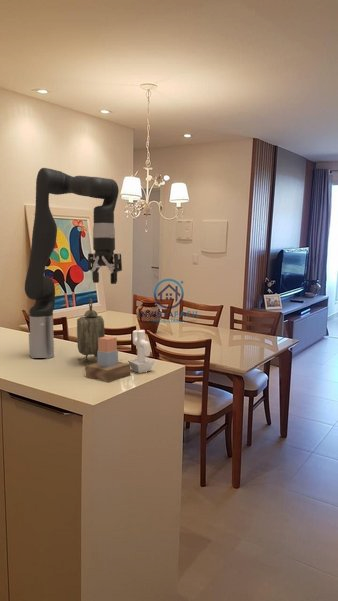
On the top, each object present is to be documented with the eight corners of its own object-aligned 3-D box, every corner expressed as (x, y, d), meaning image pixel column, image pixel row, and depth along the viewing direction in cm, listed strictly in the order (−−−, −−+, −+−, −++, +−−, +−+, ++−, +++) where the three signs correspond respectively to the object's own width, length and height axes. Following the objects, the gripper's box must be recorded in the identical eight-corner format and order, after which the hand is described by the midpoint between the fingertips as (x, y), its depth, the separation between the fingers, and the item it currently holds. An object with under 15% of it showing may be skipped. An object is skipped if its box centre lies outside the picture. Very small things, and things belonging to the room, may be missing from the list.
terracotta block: (107, 348, 162) (107, 336, 161) (116, 350, 159) (116, 337, 159) (98, 350, 158) (98, 338, 158) (107, 352, 155) (107, 339, 155)
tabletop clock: (105, 365, 174) (104, 300, 172) (80, 367, 172) (79, 300, 169) (99, 357, 188) (98, 296, 185) (77, 358, 186) (76, 297, 183)
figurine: (139, 375, 160) (138, 333, 159) (126, 369, 168) (125, 329, 166) (156, 372, 164) (156, 331, 163) (143, 366, 172) (143, 327, 170)
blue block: (97, 365, 158) (97, 350, 158) (107, 362, 162) (107, 348, 162) (107, 367, 155) (107, 352, 155) (118, 364, 159) (117, 350, 159)
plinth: (85, 376, 158) (85, 365, 158) (107, 370, 167) (107, 359, 167) (108, 382, 152) (108, 370, 151) (130, 375, 161) (130, 364, 160)
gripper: (81, 236, 160) (82, 283, 162) (111, 236, 152) (112, 284, 153) (97, 237, 166) (97, 281, 168) (126, 236, 158) (127, 283, 159)
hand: (104, 283), depth 161 cm, fingers open, 8 cm apart
